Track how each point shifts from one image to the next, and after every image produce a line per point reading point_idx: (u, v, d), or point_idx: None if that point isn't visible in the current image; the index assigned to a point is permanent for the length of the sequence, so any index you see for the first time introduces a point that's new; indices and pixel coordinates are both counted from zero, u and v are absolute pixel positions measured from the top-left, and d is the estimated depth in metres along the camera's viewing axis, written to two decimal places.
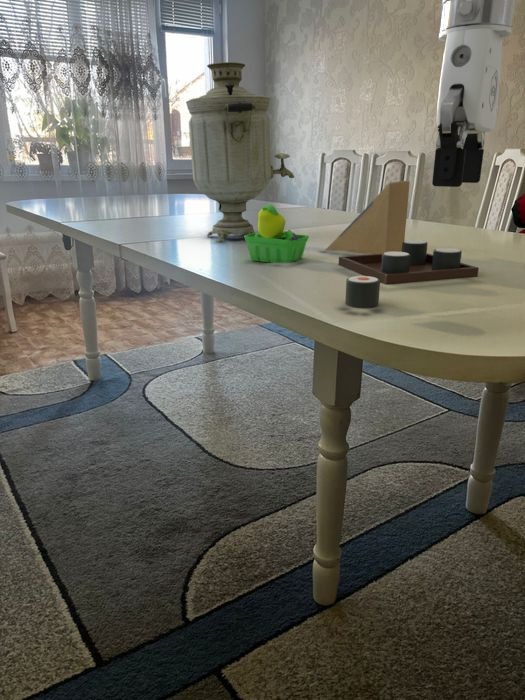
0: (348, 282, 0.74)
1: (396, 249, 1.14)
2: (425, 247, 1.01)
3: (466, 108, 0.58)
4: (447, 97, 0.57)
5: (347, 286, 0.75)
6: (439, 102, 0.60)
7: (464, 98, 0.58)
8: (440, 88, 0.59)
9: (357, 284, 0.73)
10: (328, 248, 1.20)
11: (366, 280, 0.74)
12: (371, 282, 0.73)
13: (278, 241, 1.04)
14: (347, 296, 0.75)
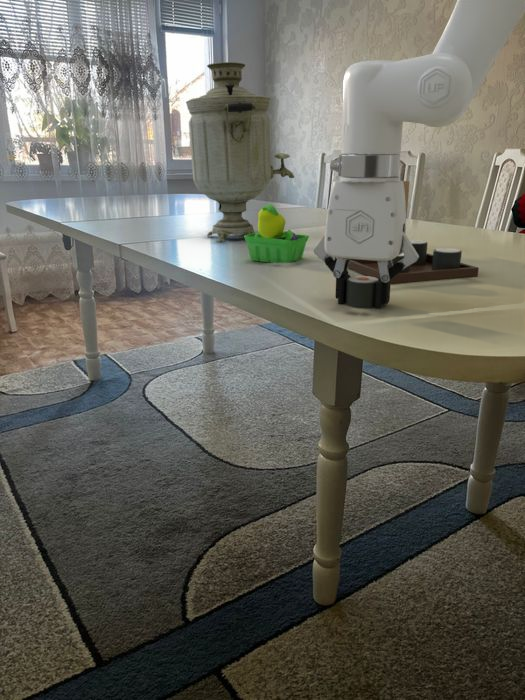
0: (348, 282, 0.74)
1: None
2: (425, 247, 1.01)
3: None
4: None
5: (347, 286, 0.75)
6: None
7: None
8: None
9: (357, 284, 0.73)
10: None
11: (366, 280, 0.74)
12: (371, 282, 0.73)
13: (278, 241, 1.04)
14: (347, 296, 0.75)
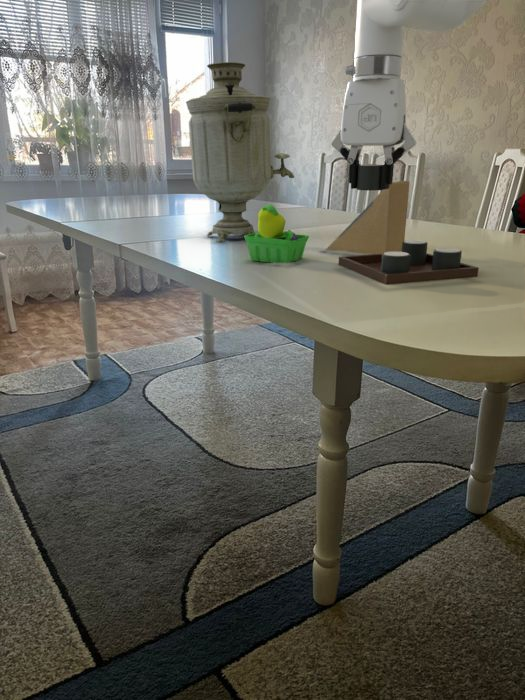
0: (359, 166, 0.92)
1: (396, 249, 1.14)
2: (425, 247, 1.01)
3: None
4: None
5: (358, 170, 0.93)
6: None
7: None
8: None
9: (366, 167, 0.91)
10: (328, 248, 1.20)
11: (374, 164, 0.92)
12: (378, 165, 0.91)
13: (278, 241, 1.04)
14: (358, 179, 0.93)
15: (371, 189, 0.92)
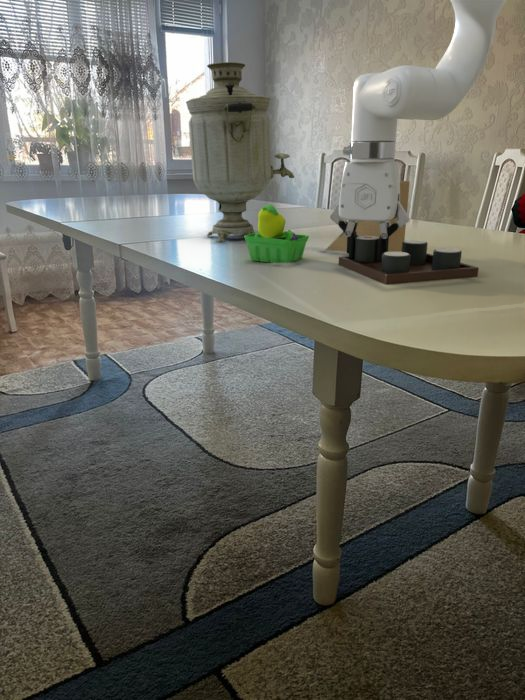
0: (356, 239, 0.98)
1: (396, 249, 1.14)
2: (425, 247, 1.01)
3: None
4: None
5: (355, 243, 0.98)
6: None
7: None
8: None
9: (363, 240, 0.97)
10: (328, 248, 1.20)
11: (370, 238, 0.97)
12: (374, 239, 0.97)
13: (278, 241, 1.04)
14: (355, 250, 0.98)
15: (367, 261, 0.98)
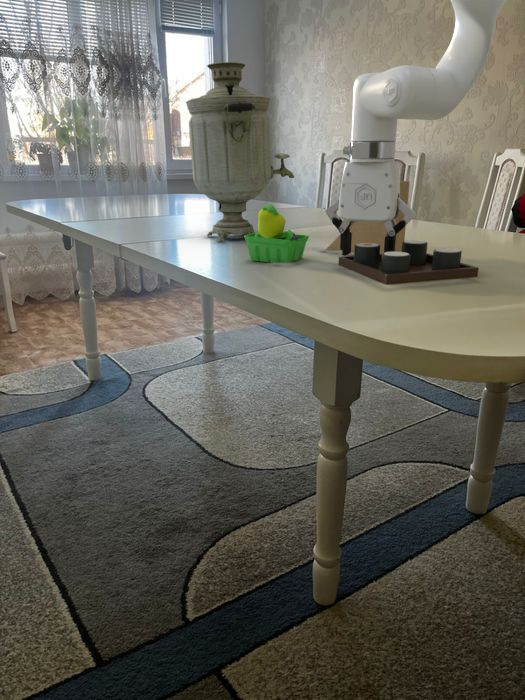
0: (356, 247, 0.98)
1: (396, 249, 1.14)
2: (425, 247, 1.01)
3: None
4: (333, 204, 1.00)
5: (355, 250, 0.99)
6: None
7: None
8: None
9: (363, 248, 0.97)
10: (328, 248, 1.20)
11: (369, 245, 0.98)
12: (373, 246, 0.97)
13: (278, 241, 1.04)
14: (355, 258, 0.99)
15: None
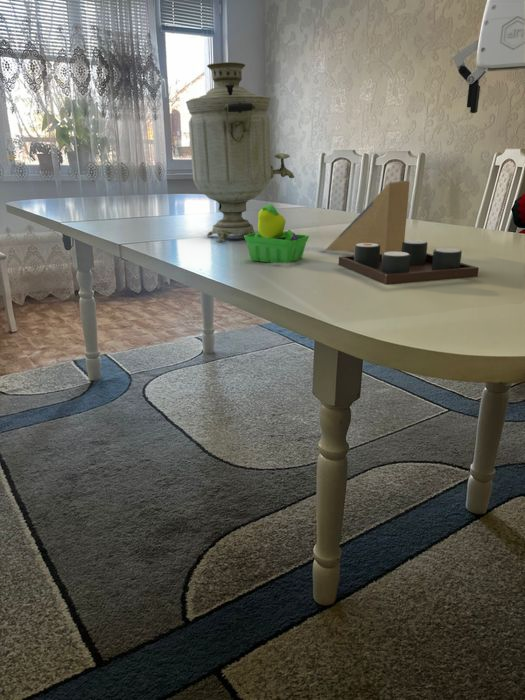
0: (356, 247, 0.98)
1: (396, 249, 1.14)
2: (425, 247, 1.01)
3: None
4: None
5: (355, 250, 0.99)
6: None
7: (478, 46, 0.82)
8: None
9: (363, 248, 0.97)
10: (328, 248, 1.20)
11: (369, 245, 0.98)
12: (373, 246, 0.97)
13: (278, 241, 1.04)
14: (355, 258, 0.99)
15: None
